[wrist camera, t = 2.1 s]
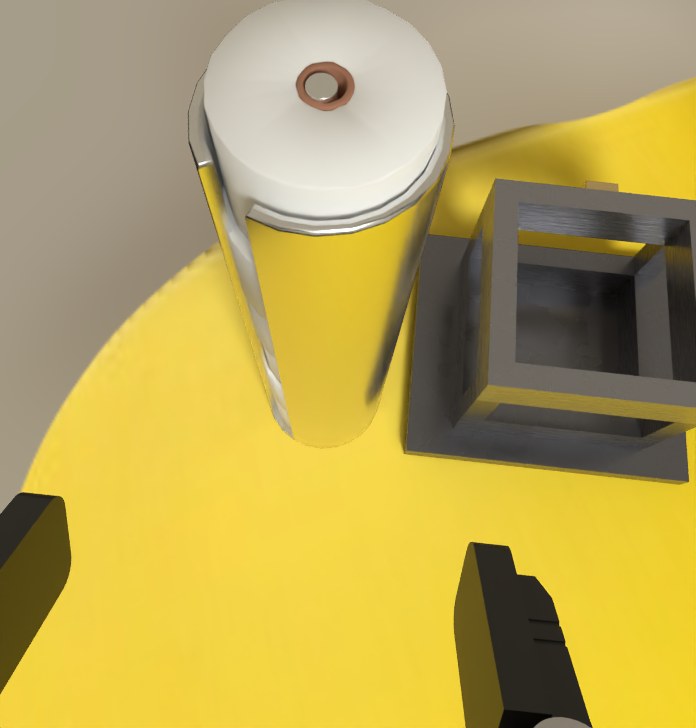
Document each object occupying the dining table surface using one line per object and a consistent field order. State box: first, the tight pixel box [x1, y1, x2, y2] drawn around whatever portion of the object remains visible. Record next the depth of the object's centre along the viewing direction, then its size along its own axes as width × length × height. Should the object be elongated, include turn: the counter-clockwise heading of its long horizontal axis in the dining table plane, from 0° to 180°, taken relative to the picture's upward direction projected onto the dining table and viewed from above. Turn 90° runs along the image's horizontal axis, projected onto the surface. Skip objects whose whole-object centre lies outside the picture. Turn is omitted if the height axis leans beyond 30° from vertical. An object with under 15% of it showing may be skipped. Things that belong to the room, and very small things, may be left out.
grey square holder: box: [404, 179, 696, 484], centre depth 35 cm, size 16×14×10 cm
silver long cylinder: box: [188, 0, 454, 448], centre depth 26 cm, size 6×6×25 cm
